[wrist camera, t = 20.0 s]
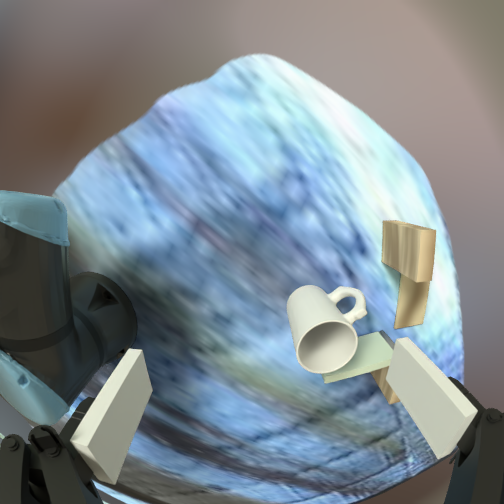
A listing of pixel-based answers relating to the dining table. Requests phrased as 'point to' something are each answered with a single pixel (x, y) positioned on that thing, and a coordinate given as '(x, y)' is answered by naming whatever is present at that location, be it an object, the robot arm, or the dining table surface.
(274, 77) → the dining table surface
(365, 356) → the gate door
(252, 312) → the dining table surface
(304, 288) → the mug
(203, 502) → the dining table surface
